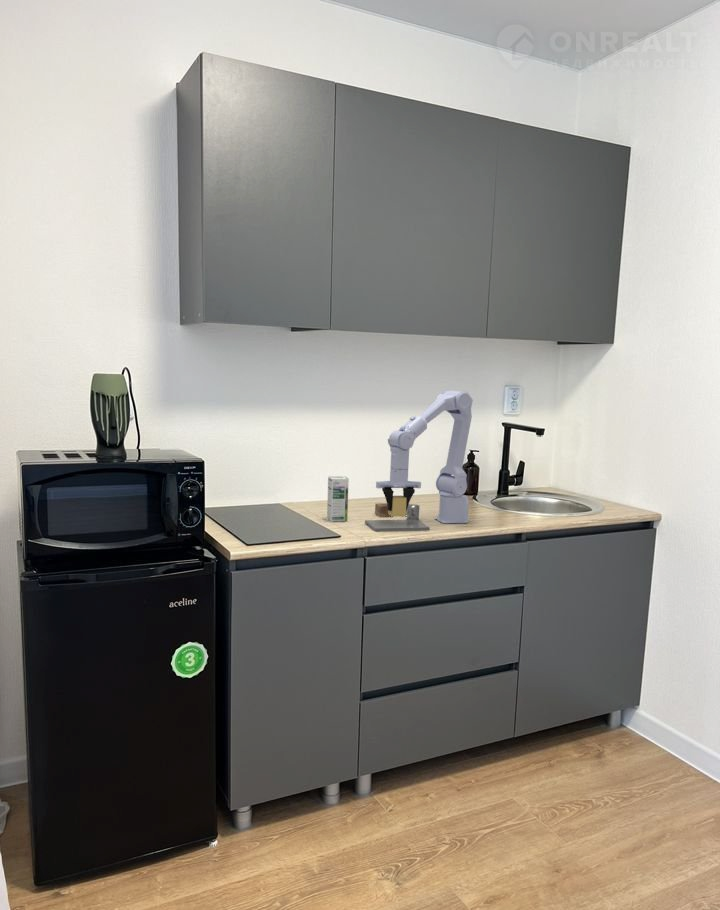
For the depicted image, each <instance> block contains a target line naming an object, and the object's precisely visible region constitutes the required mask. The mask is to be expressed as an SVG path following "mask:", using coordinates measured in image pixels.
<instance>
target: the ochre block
mask: <svg viewBox="0 0 720 910" xmlns="http://www.w3.org/2000/svg"><path fill="white" fill-rule="evenodd" d="M388 514H389V515H391V516H392V517H391V518H394V517H399V518H400V517H403V516H406V497H404V496H403V495H393V498H392V511H389V510H388Z"/></svg>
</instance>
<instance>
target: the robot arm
mask: <svg viewBox="0 0 720 910" xmlns="http://www.w3.org/2000/svg"><path fill="white" fill-rule="evenodd" d="M473 401H474V400H473V398H472V397H471V395H470V394H469V392H467V391H464V390H462V391H460V390H449V389H445V390H443V391H442V392H440V394H438V395H437V397H436V399H435V401H434V402H432V403H431V404H430V405H429V406H428V407H427V408H426V410H424V411H423V412H422V413H421V414H420V415H413V416H410V417H409V420H408V421H407V422H406V423H405V424H403V425H401V426H400V427H399V429H398V430H393V431H392V432H391V433H390V435H389V437H388V439H387V444H388V445H389V448H390V470H389V471H390V472H389V474H390V475H389V480H383V481H376V482H375V488H376V489H381V490H382V493H383V495H384V497H385V500H386V503H387V506H388V510H389V511H392V498H393V496H394V492H395V491H394V490H393V489H402V493H403V495H402V496H404V497H406V511H407V508H408V505H409V504H410V502H411V499H412V497H413V495H414V494H415V491H416V490H415V489H421V488H422V482H421V481H410V480H409V466H410V465H409V464H410V462H409V461H410V449H411V448H413V445H414V443H415V441H416V439H417V438H418V437H420V436H421V435H422V434H423V433H424V432H425V431H426V430H427V429H428V424H429V423H430V422H431V421H433V420H434V419H435V418H436V417H438V416H439V415H440V414H442V413H443V412H444V411H446V412H447V413H448V414H450V415H451V417H452V418H453V421H454V422H453V426H452V432H451V437H450V443H449V446H448V447H449V448H448V453H447V459H446V465H444V466H443V467H442V468H440V470H439V475H438V477H437V478H436V480H435V486H436V490H438V495H439V506H438V507H439V508H438V516H435V517H434V519H435V520H436V519H437V520H436V521H438V522H439V523H442V524H463V523H464V524H465V523H466V524H468V523H470V521H469V510H470V509H469V506H470V505H469V498H468V496H467V495H464V494H465V493H466V491H467V488H468V483H467V477H468V475H467V473H466V472H465V470H464V468H463V465H464V461H465V456H466V455H465V454H466V451H467V444H468V438H469V433H470V427H471V423H472V406H473Z"/></svg>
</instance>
